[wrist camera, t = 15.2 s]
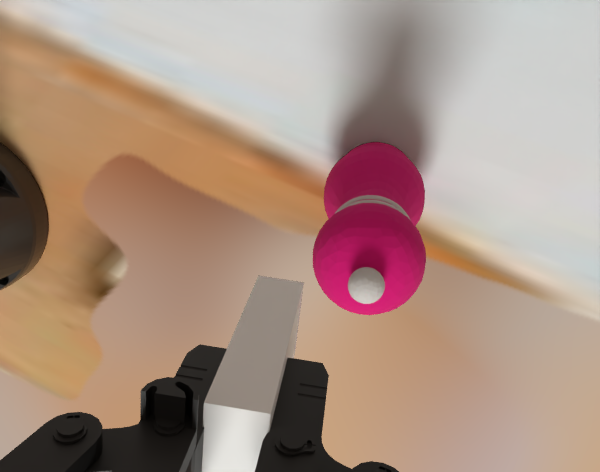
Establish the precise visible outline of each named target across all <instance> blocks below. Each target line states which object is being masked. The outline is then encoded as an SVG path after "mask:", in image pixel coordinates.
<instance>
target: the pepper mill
mask: <svg viewBox="0 0 600 472" xmlns="http://www.w3.org/2000/svg"><path fill="white" fill-rule="evenodd" d="M424 198H425V190H424V184H423V181H422V178H421V175H420V173H419V172H418V170H417V168H416V167H415V165H414V164H413V163H412V162H411V161H410V160H409V159H408V157H407V156H406V155H405V154H404V153H403V152H402V151H400V150H399V149H397V148H396V147H394V146H392V145H389V144H385V143H380V142H371V143H366V144H362V145H360V146H357V147H355V148H354V149H352V150H351V151H350V152H349V153H348V154H347V155H345V156H344V157H343V158H341V159H340V160H339V161H338V162H337V163H336V165H335V166H334V167H333V168H332V170H331V172H330V174H329V176H328V178H327V181H326V185H325V190H324V205H325V211H326V213H327V216H328V218H329V220H327V221H326V223H325V224H324V225H323V227H322V228H321V230H320V231H319V233H318V236H317V238H316V241H315V244H314V249H313V268H314V272H315V276H316V278H317V281H318V283H319V285H320V286H321V288H322V290H323V291H324V293H325V294H326V295H327V296H328V298H329V299H330V300H332V301H333V302H334V303H336V304H337V305H338V306H339V307H341V308H343V309H345V310H347V311H350V312H353V313H357V314H363V315H374V314H380V313H384V312H389V311H391V310H394V309H396V308H398V307H399V306H401V305H402V304H404V303H405V302H406V301H407V300H408V299H409V298H410V297H411V296H412V295H413V294H414V293H415V292H416V290H417V288H418V286H419V285H420V283H421V281H422V278H423V274H424V270H425V263H426V252H425V247H424V244H423V241H422V238H421V235H420V233H419V231H418V230H417V228H416V227H415V226H416V224H417V223H418V221H419V220H420V217H421V214H422V212H423V207H424Z"/></svg>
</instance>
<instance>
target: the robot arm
mask: <svg viewBox="0 0 600 472" xmlns="http://www.w3.org/2000/svg"><path fill="white" fill-rule="evenodd" d="M47 235H48V218H47V212H46V207H45V203H44V200H43V197H42V195H41V192H40V190H39V188H38V186H37V184H36V182H35V180H34V178H33V177H32V175H31V174H30V172H29V171H28V169H27V168H26V167H25V166H24V164H23V163H22V162H21V161H20V160H19V159H18V158H17V157H16V156H15V155H14V154H13V153H12V152H11V151H10V150H9V149H8V148H6V147H5V146H4V145H2V144H1V143H0V290H2V289H4V288H6V287H8V286H10V285H11V284H13V283H14V282H16V281H17V280H19V279H20V278H22V277H23V276H24V275H26V274H27V273H28V272H29V271H31V270H32V269H33V267H34V266H35V265H36V264H37V263H38V261H39V259H40V258H41V256H42V254H43V251H44V249H45V245H46V241H47ZM303 285H304V283H303V282H298V281H290V280H284V279H278V278H271V277H265V276H258V278H257V280H256V283H255V285H254V287H253V290H252V292H251V294H250V297H249V299H248V301H247V304H246V306H245V308H244V311H243V313H242V315H241V318H240V320H239V322H238V324H237V327H236V329H235V331H234V334H233V336H232V339H231V341H230V343H229V345H228V348H227V349H224V348H218V347H212V346H206V345H198V346H197V347H195V348H194V349H193V350H191V351H190V352H188V353H187V355H186V356H185V358H184V360H183V362H182V364H181V367H179V369H178V371H177V373H176V376H175V377H174V378H169V377H167V378H162V379H157V380H155V381H152V382H150V383H148V384H147V385H146V386H145V387H144V388H143V389H142V390H141V420H140V422H139V424H137V425H134V426H130V427H124V428H113V429H102V425H101V423H100V421H99V419H98V418H96V417H94V416H93V415H91V414H87V413H82V412H75V413H66V414H63V415H60V416H57V417H55V418H53V419H52V420H50V421H48V422H47V423H45V424H44V425H43V426H42V427H40V428H39V429H38V430H37V431H36V432H34V433H33V434H32V435H31V436H29V437H28V438H27V439H26V440H25V441H24V442H22V443H21V444H20V445H19V446H18V447H16V448H15V449H14V450H12V451H11V452H10V453H9V454H8V455H6V456H5V457H4V458H3V459H1V460H0V472H399V471H397V470H396V469H395V468H393V467H391V466H389V465H386V464H384V463H379V462H372V461H371V462H366V463H361V464H359V465H357V466H356V467H354V468H353V469H351V468H348V467H346V466H344V465H342V464H340V463H339V462H337V461H335V460H334V459H333V458H331V457H330V456H329V455H328V453H327V452H326V451H325V449H324V447H323V444H322V438H321V436H322V427H323V418H324V410H325V401H326V393H327V383H328V376H329V375H328V374H327V371H326V369H325V367H324V365H323V363H318V362H312V361H305V360H299V359H294V354H295V347H296V339H297V332H298V323H299V316H300V308H301V300H302V292H303Z"/></svg>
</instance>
